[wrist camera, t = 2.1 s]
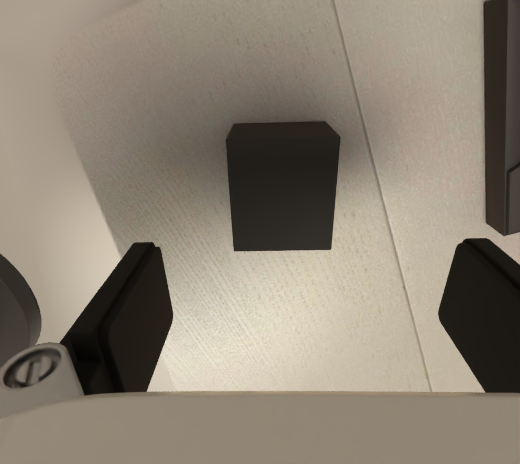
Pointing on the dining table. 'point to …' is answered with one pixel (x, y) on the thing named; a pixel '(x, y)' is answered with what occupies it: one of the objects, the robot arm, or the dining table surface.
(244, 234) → the dark grey square block
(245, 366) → the dining table surface
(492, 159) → the picture frame
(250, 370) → the dining table surface
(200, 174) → the dining table surface
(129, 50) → the dining table surface
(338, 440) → the robot arm
